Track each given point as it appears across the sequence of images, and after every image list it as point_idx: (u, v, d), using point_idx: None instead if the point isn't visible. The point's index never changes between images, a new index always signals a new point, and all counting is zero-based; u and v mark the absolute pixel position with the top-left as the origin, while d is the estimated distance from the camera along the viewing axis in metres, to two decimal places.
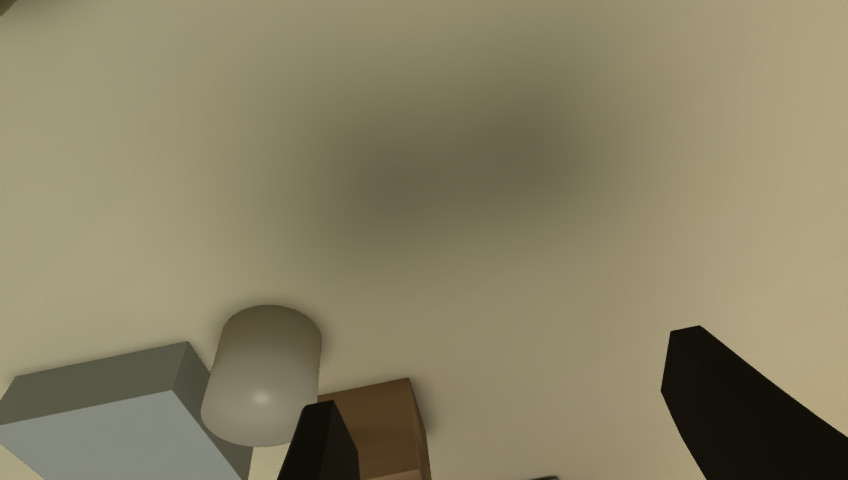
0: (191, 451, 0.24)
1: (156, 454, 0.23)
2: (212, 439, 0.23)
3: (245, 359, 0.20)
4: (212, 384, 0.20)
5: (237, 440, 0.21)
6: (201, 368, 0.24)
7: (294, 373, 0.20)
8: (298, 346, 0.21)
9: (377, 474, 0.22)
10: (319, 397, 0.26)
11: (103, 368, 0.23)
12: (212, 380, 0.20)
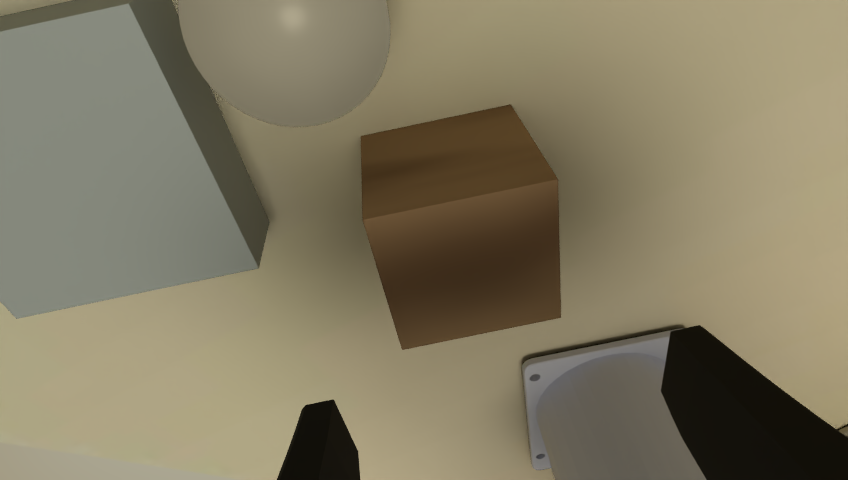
0: (169, 177, 0.14)
1: (110, 178, 0.14)
2: (203, 152, 0.14)
3: None
4: None
5: (245, 103, 0.12)
6: None
7: None
8: None
9: (486, 191, 0.13)
10: (371, 135, 0.17)
11: (17, 16, 0.13)
12: None
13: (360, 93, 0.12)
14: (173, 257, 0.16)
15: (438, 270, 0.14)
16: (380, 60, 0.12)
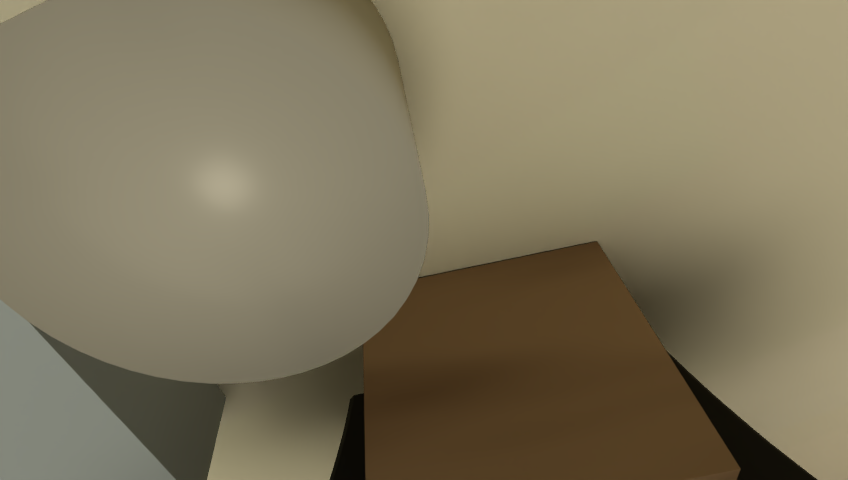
0: (28, 411, 0.08)
1: None
2: (84, 374, 0.08)
3: None
4: None
5: (129, 356, 0.06)
6: None
7: (349, 47, 0.05)
8: (353, 12, 0.06)
9: None
10: None
11: None
12: None
13: (363, 328, 0.06)
14: None
15: None
16: (406, 276, 0.06)
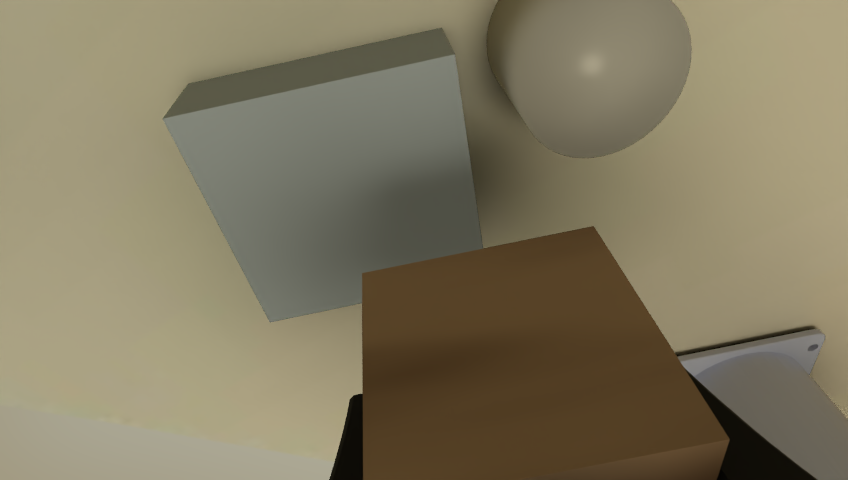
0: (438, 198, 0.16)
1: (390, 200, 0.16)
2: (472, 176, 0.16)
3: None
4: (548, 12, 0.12)
5: (550, 139, 0.14)
6: None
7: None
8: None
9: (593, 457, 0.07)
10: (378, 275, 0.11)
11: (323, 60, 0.15)
12: (542, 13, 0.13)
13: (645, 128, 0.14)
14: None
15: None
16: (671, 100, 0.14)
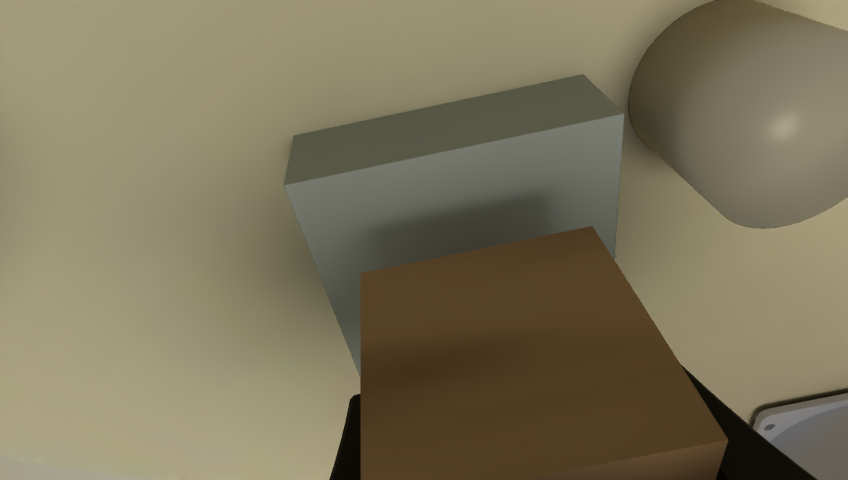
0: None
1: None
2: (613, 241, 0.14)
3: (803, 28, 0.11)
4: (755, 70, 0.11)
5: (733, 209, 0.12)
6: None
7: None
8: None
9: (592, 458, 0.07)
10: (376, 275, 0.11)
11: (452, 112, 0.14)
12: (743, 70, 0.11)
13: (840, 196, 0.12)
14: None
15: None
16: None
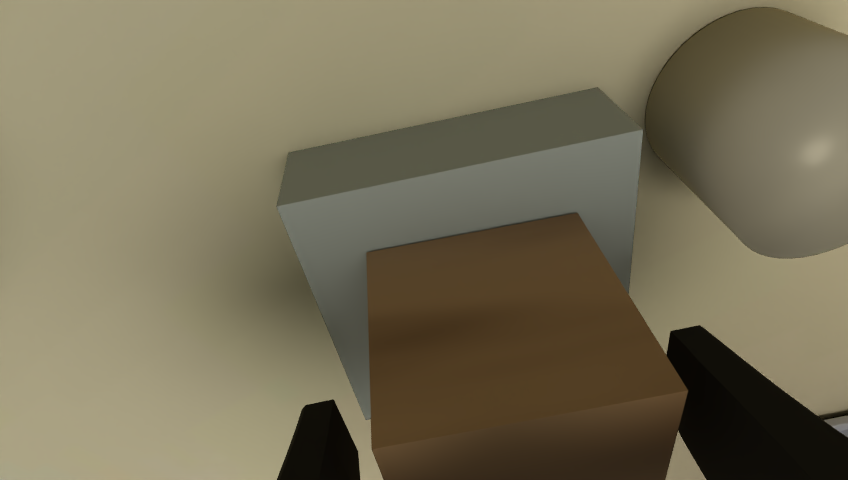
0: None
1: None
2: (629, 263, 0.13)
3: (838, 49, 0.10)
4: (786, 98, 0.10)
5: (758, 241, 0.11)
6: None
7: None
8: None
9: (572, 405, 0.08)
10: (381, 255, 0.12)
11: (457, 126, 0.13)
12: (772, 96, 0.10)
13: None
14: None
15: None
16: None
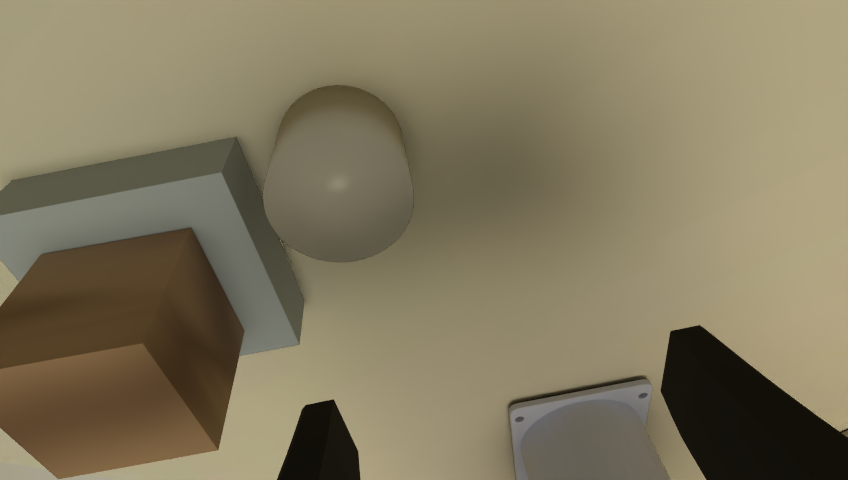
0: (236, 282, 0.18)
1: None
2: (264, 264, 0.18)
3: (317, 121, 0.15)
4: (276, 155, 0.15)
5: (310, 250, 0.16)
6: (251, 178, 0.19)
7: (383, 139, 0.15)
8: (382, 121, 0.16)
9: (73, 352, 0.13)
10: (48, 256, 0.17)
11: (127, 164, 0.18)
12: (275, 154, 0.15)
13: (393, 235, 0.16)
14: None
15: (57, 416, 0.14)
16: (407, 213, 0.16)
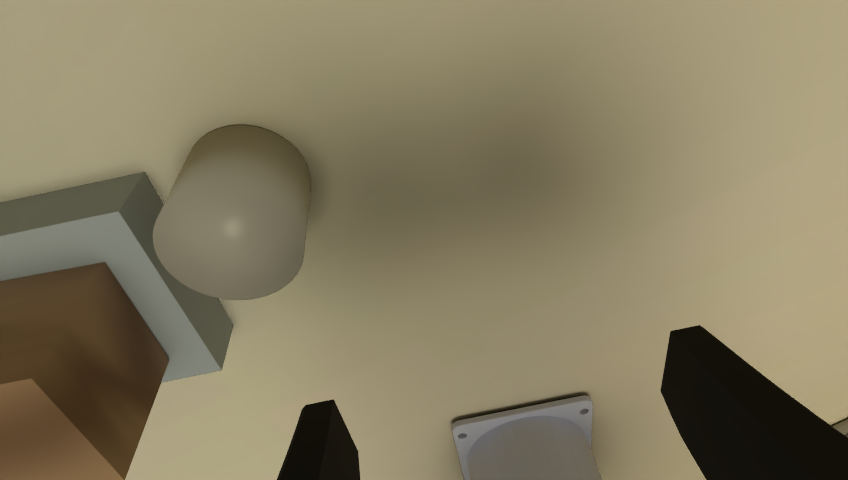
0: (150, 313, 0.19)
1: None
2: (175, 296, 0.19)
3: (198, 173, 0.15)
4: (161, 209, 0.15)
5: (213, 291, 0.17)
6: None
7: (264, 185, 0.15)
8: (271, 162, 0.16)
9: None
10: None
11: (38, 201, 0.18)
12: None
13: (291, 273, 0.17)
14: None
15: None
16: (299, 253, 0.16)
